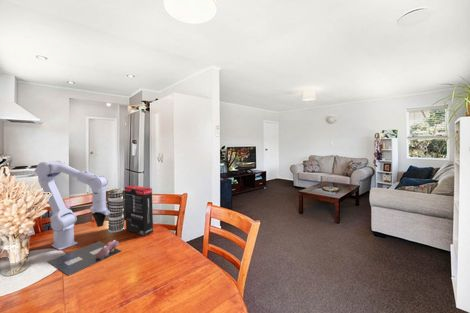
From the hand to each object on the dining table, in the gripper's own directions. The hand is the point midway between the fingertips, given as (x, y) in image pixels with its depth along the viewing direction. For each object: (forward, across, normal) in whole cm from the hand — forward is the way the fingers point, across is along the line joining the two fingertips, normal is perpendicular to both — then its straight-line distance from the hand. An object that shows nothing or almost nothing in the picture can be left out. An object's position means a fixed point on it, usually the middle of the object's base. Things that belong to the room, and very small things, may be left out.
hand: (100, 226), depth 107 cm
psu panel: (+10, +5, -9) cm, 15 cm away
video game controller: (+10, +12, -3) cm, 16 cm away
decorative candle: (+10, -12, +16) cm, 23 cm away
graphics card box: (+10, +2, +21) cm, 23 cm away
